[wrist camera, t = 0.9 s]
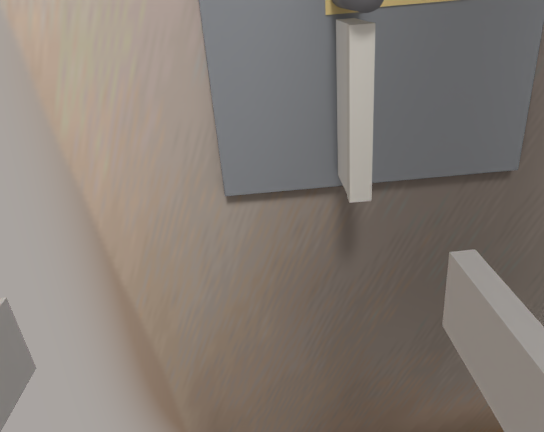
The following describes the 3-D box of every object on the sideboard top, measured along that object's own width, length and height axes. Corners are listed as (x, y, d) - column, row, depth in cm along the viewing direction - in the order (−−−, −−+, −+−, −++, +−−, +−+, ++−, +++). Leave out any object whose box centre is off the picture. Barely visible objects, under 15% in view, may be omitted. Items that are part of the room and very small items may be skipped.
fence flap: (334, 19, 29) (349, 25, 25) (356, 17, 29) (375, 22, 25) (336, 175, 34) (349, 202, 29) (355, 173, 34) (371, 200, 29)
